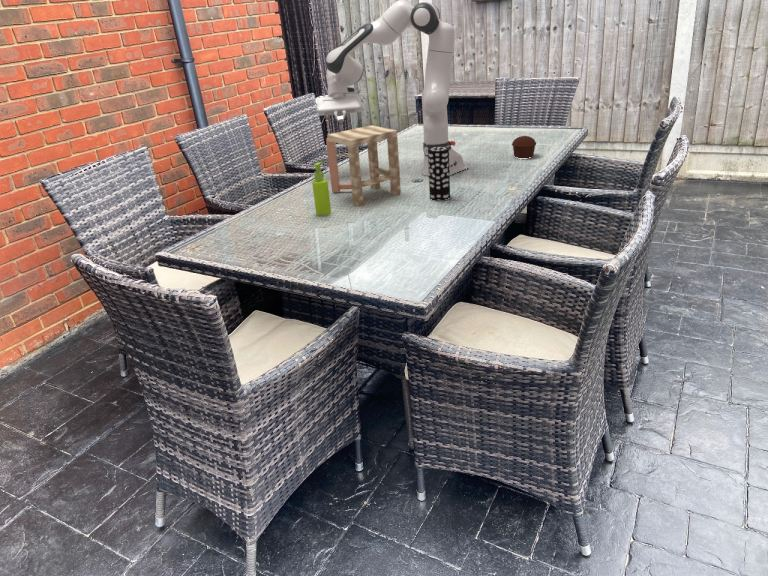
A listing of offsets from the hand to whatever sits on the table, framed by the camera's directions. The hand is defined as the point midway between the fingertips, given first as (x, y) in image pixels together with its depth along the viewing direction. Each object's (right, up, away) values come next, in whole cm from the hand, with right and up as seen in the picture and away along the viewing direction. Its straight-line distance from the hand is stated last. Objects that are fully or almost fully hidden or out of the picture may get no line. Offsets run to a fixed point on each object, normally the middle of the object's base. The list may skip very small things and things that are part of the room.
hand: (340, 120), depth 259 cm
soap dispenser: (-4, -44, -27) cm, 52 cm away
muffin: (+87, -10, +28) cm, 92 cm away
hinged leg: (+3, -32, -4) cm, 32 cm away
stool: (+12, -35, -10) cm, 38 cm away
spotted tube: (+42, -37, -20) cm, 60 cm away
